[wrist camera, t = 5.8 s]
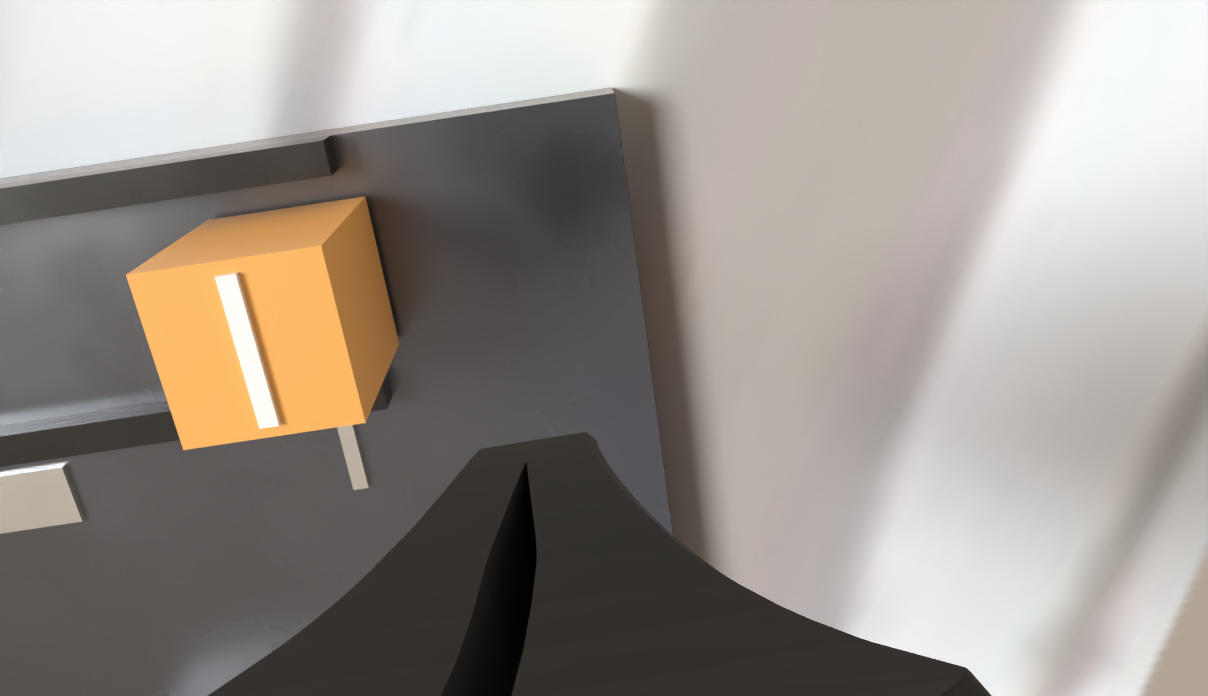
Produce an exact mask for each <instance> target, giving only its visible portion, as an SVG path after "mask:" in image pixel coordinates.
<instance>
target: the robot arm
mask: <svg viewBox="0 0 1208 696" xmlns="http://www.w3.org/2000/svg"><path fill="white" fill-rule="evenodd" d="M207 696H991V695H990V694H989V692H988V691H987V690H986V689H985V688H984V687H983V685H982V684H981V683H980V682H979V681H978V680H977V679H976V677H975V676H974V675H973V674H972V673H971V672H970V671H969V670H968V669H967V668H965V667H961V666H958V665H954V664H950V663H947V662H943V661H939V660H936V659H932V658H928V657H925V656H921V655H917V654H914V653H910V652H906V651H903V650H899V649H895V648H892V647H888V646H884V645H880V644H877V643H873V642H870V641H867V640H864V639H861V638H858V637H855V636H853V635H850V634H847V633H845V632H842V631H839V630H837V629H834V628H832V627H829V626H826V625H824V624H821V623H818V622H816V621H813V620H811V619H808V618H806V617H804V616H802V615H799V614H797V613H795V612H793V611H790V610H788V609H786V608H784V607H781V606H779V605H777V604H775V603H774V602H772V601H770V600H768V599H766V598H764V597H762V596H760V595H758V594H756V593H755V592H753V591H751V590H749V589H747V588H745V587H743V586H741V585H739V584H738V583H736V582H734V581H733V580H731V579H729V578H728V577H726V576H725V575H723V574H722V573H720V572H719V571H717V570H716V569H715V568H713V567H712V566H710V565H709V564H708V563H706V562H705V561H703V560H702V559H701V558H699V557H698V556H697V555H696V554H694V553H693V552H692V551H690V550H689V549H688V548H687V547H686V546H684V545H683V544H682V543H681V542H680V541H678V540H677V539H676V538H675V537H674V536H673V535H672V534H671V533H670V532H669V531H667V530H666V529H665V528H664V527H663V526H662V525H661V524H660V523H659V522H658V521H657V520H656V519H655V518H654V517H653V516H652V515H651V514H650V513H649V512H648V511H647V510H646V509H645V508H644V507H643V506H642V505H641V504H640V503H639V502H638V500H637V499H636V498H635V497H634V496H633V495H632V494H631V493H630V491H629V490H628V489H627V488H626V487H625V486H624V485H623V483H622V482H621V481H620V479H619V478H618V477H617V476H616V474H615V473H614V471H613V470H612V469H611V467H610V466H609V464H608V463H607V461H606V460H605V458H604V457H603V455H602V453H601V451H600V449H599V447H598V445H597V440H596V439H595V438H593V437H592V436H591V435H589V434H588V433H586V432H582V433H576V434H570V435H563V436H557V437H551V438H545V439H538V440H532V441H526V442H520V443H514V444H507V445H501V446H495V447H489V448H482V449H480V450H479V451H478V452H477V453H476V454H475V455H474V456H473V457H472V458H471V459H470V461H469V462H468V463H467V464H466V465H465V467H464V468H463V469H462V470H461V472H460V473H459V474H458V475H457V476H456V478H455V479H454V480H453V481H452V483H451V484H450V485H449V486H448V487H447V489H446V490H445V491H444V492H443V493H442V494H441V496H440V497H439V498H438V499H437V500H436V501H435V503H434V504H433V505H432V506H431V507H430V508H429V509H428V511H427V512H426V513H425V514H424V515H423V516H422V518H421V519H420V520H419V521H418V522H417V523H416V524H415V526H414V527H413V528H412V529H411V530H410V531H409V532H408V533H407V534H406V535H405V536H404V537H403V538H402V539H401V540H400V541H399V542H398V543H397V544H396V545H395V546H394V547H393V548H392V549H391V550H390V551H389V552H388V553H387V554H386V555H385V556H384V557H383V558H382V559H381V560H380V561H379V562H378V563H377V564H376V566H375V567H374V568H373V569H372V570H371V571H370V572H369V573H368V574H367V575H366V576H365V577H364V578H363V579H361V580H360V581H359V582H358V583H357V584H356V585H355V586H354V587H353V588H352V589H351V590H349V591H348V592H347V593H346V594H345V595H344V596H343V597H341V598H340V599H339V600H338V601H337V602H336V603H335V604H333V605H332V606H331V607H330V608H329V609H327V610H326V611H325V612H324V613H322V614H321V615H320V616H319V617H317V618H316V619H315V620H314V621H312V622H311V623H310V624H309V625H308V626H306V627H305V628H304V629H303V630H301V631H300V632H299V633H297V634H296V635H295V636H294V637H292V638H291V639H290V640H288V641H287V642H286V643H284V644H283V645H281V646H280V647H278V648H277V649H275V650H274V651H273V652H271V653H270V654H268V655H267V656H265V657H264V658H262V659H261V660H259V661H258V662H256V663H255V664H253V665H252V666H250V667H249V668H248V669H246V670H245V671H243V672H242V673H240V674H239V675H237V676H236V677H234V678H233V679H231V680H230V681H228V682H227V683H226V684H224V685H223V686H221V687H220V688H218V689H217V690H215V691H214V692H212V693H211V694H209V695H207Z"/></svg>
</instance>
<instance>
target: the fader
mask: <svg viewBox="0 0 1208 696" xmlns="http://www.w3.org/2000/svg"><path fill="white" fill-rule="evenodd" d="M126 277H127V280H128V283H129V286H130V289H131V292H132V295H133V298H134V301H135V304H136V307H137V310H138V313H139V317H140V320H141V323H142V326H143V329H144V332H145V335H146V338H147V341H148V344H149V347H150V350H151V353H152V356H153V359H154V362H155V365H156V368H157V371H158V374H159V377H160V380H161V383H162V386H163V390H164V393H165V396H166V399H167V402H168V405H169V408H170V411H171V414H172V417H173V420H174V423H175V426H176V429H177V432H178V435H179V438H180V441H181V444H182V447H183V450H188V449H195V448H201V447H208V446H215V445H222V444H228V443H235V442H242V441H248V440H255V439H262V438H268V437H275V436H282V435H288V434H295V433H302V432H308V431H315V430H322V429H329V428H335V427H342V426H349V425H355V424H362V423H366V421H367V418H368V416H369V414H370V411H371V409H372V407H373V404H374V402H375V400H376V397H377V395H378V393H379V390H380V388H381V386H382V383H383V381H384V379H385V376H386V374H387V372H388V369H389V367H390V365H391V362H392V360H393V357H394V355H395V353H396V350H397V348H398V346H399V340H398V336H397V332H396V327H395V323H394V319H393V314H392V310H391V306H390V301H389V297H388V293H387V288H386V284H385V280H384V275H383V271H382V266H381V262H380V258H379V253H378V249H377V245H376V240H375V236H374V232H373V227H372V223H371V219H370V214H369V210H368V205H367V201H366V197H358V198H351V199H345V200H338V201H331V202H324V203H318V204H311V205H304V206H298V207H291V208H284V209H278V210H271V211H264V212H257V213H251V214H244V215H237V216H231V217H224V218H217V219H211V220H207V221H206V222H204V223H203V224H201V225H200V226H198V227H197V228H195V229H194V230H192V231H191V232H189V233H188V234H186V235H185V236H183V237H182V238H180V239H179V240H177V241H176V242H174V243H173V244H171V245H170V246H168V247H167V248H165V249H164V250H162V251H161V252H159V253H158V254H156V255H155V256H153V257H152V258H150V259H149V260H147V261H146V262H144V263H143V264H141V265H140V266H138V267H137V268H135V269H134V270H132V271H131V272H129V273H128V274H126Z"/></svg>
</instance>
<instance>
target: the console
mask: <svg viewBox="0 0 1208 696" xmlns="http://www.w3.org/2000/svg"><path fill="white" fill-rule="evenodd" d="M358 197H366V201H367V205H368V210H369V214H370V219H371V223H372V227H373V232H374V236H375V240H376V245H377V249H378V253H379V258H380V262H381V266H382V271H383V275H384V280H385V284H386V288H387V293H388V297H389V301H390V306H391V310H392V314H393V319H394V323H395V327H396V332H397V336H398V340H399V346H398V348H397V350H396V353H395V355H394V357H393V360H392V362H391V365H390V367H389V369H388V372H387V374H386V376H385V379H384V381H383V383H382V386H381V388H380V390H379V393H378V395H377V397H376V400H375V402H374V404H373V407H372V409H371V411H370V414H369V416H368V418H367V421H366V423H362V424H355V425H349V426H342V427H335V428H329V429H322V430H315V431H308V432H302V433H295V434H288V435H282V436H275V437H268V438H262V439H255V440H248V441H242V442H235V443H228V444H222V445H215V446H208V447H201V448H195V449H188V450H183V447H182V444H181V441H180V438H179V435H178V432H177V429H176V426H175V423H174V420H173V417H172V414H171V411H170V408H169V405H168V402H167V399H166V396H165V393H164V390H163V386H162V383H161V380H160V377H159V374H158V371H157V368H156V365H155V362H154V359H153V356H152V353H151V350H150V347H149V344H148V341H147V338H146V335H145V332H144V329H143V326H142V323H141V320H140V317H139V313H138V310H137V307H136V304H135V301H134V298H133V295H132V292H131V289H130V286H129V283H128V280H127V277H126V274H128V273H129V272H131V271H132V270H134V269H135V268H137V267H138V266H140V265H141V264H143V263H144V262H146V261H147V260H149V259H150V258H152V257H153V256H155V255H156V254H158V253H159V252H161V251H162V250H164V249H165V248H167V247H168V246H170V245H171V244H173V243H174V242H176V241H177V240H179V239H180V238H182V237H183V236H185V235H186V234H188V233H189V232H191V231H192V230H194V229H195V228H197V227H198V226H200V225H201V224H203V223H204V222H206V221H207V220H211V219H217V218H224V217H231V216H237V215H244V214H251V213H257V212H264V211H271V210H278V209H284V208H291V207H298V206H304V205H311V204H318V203H324V202H331V201H338V200H345V199H351V198H358ZM582 432H586V433H588V434H589V435H591V436H592V437H593V438H595V439H596V440H597V445H598V447H599V449H600V451H601V453H602V455H603V457H604V458H605V460H606V461H607V463H608V464H609V466H610V467H611V469H612V470H613V471H614V473H615V474H616V476H617V477H618V478H619V479H620V481H621V482H622V483H623V485H624V486H625V487H626V488H627V489H628V490H629V491H630V493H631V494H632V495H633V496H634V497H635V498H636V499H637V500H638V502H639V503H640V504H641V505H642V506H643V507H644V508H645V509H646V510H647V511H648V512H649V513H650V514H651V515H652V516H653V517H654V518H655V519H656V520H657V521H658V522H659V523H660V524H661V525H662V526H663V527H664V528H665V529H666V530H667V531H669V532H670V533H671V534H672V535H673V532H672V525H671V517H670V509H669V502H668V494H667V487H666V479H665V471H664V464H663V456H662V449H661V441H660V433H659V426H658V418H657V411H656V403H655V395H654V388H653V380H652V373H651V365H650V357H649V350H648V342H647V334H646V327H645V319H644V312H643V304H642V296H641V289H640V281H639V274H638V266H637V258H636V251H635V243H634V236H633V228H632V220H631V213H630V205H629V198H628V190H627V182H626V175H625V167H624V160H623V152H622V144H621V137H620V129H619V121H618V114H617V106H616V99H615V93H614V91H613V90H612V88H606V89H599V90H592V91H585V92H579V93H572V94H565V95H559V96H552V97H545V98H538V99H532V100H525V101H518V102H512V103H505V104H498V105H492V106H485V107H478V108H471V109H465V110H458V111H451V112H445V113H438V114H431V115H424V116H418V117H411V118H404V119H398V120H391V121H384V122H378V123H371V124H364V125H357V126H351V127H344V128H337V129H331V130H324V131H317V132H310V133H304V134H297V135H290V136H284V137H277V138H270V139H264V140H257V141H250V142H243V143H237V144H230V145H223V146H217V147H210V148H203V149H196V150H190V151H183V152H176V153H170V154H163V155H156V156H150V157H143V158H136V159H129V160H123V161H116V162H109V163H103V164H96V165H89V166H82V167H76V168H69V169H62V170H56V171H49V172H42V173H36V174H29V175H22V176H15V177H9V178H2V179H0V696H207V695H209V694H211V693H212V692H214V691H215V690H217V689H218V688H220V687H221V686H223V685H224V684H226V683H227V682H228V681H230V680H231V679H233V678H234V677H236V676H237V675H239V674H240V673H242V672H243V671H245V670H246V669H248V668H249V667H250V666H252V665H253V664H255V663H256V662H258V661H259V660H261V659H262V658H264V657H265V656H267V655H268V654H270V653H271V652H273V651H274V650H275V649H277V648H278V647H280V646H281V645H283V644H284V643H286V642H287V641H288V640H290V639H291V638H292V637H294V636H295V635H296V634H297V633H299V632H300V631H301V630H303V629H304V628H305V627H306V626H308V625H309V624H310V623H311V622H312V621H314V620H315V619H316V618H317V617H319V616H320V615H321V614H322V613H324V612H325V611H326V610H327V609H329V608H330V607H331V606H332V605H333V604H335V603H336V602H337V601H338V600H339V599H340V598H341V597H343V596H344V595H345V594H346V593H347V592H348V591H349V590H351V589H352V588H353V587H354V586H355V585H356V584H357V583H358V582H359V581H360V580H361V579H363V578H364V577H365V576H366V575H367V574H368V573H369V572H370V571H371V570H372V569H373V568H374V567H375V566H376V564H377V563H378V562H379V561H380V560H381V559H382V558H383V557H384V556H385V555H386V554H387V553H388V552H389V551H390V550H391V549H392V548H393V547H394V546H395V545H396V544H397V543H398V542H399V541H400V540H401V539H402V538H403V537H404V536H405V535H406V534H407V533H408V532H409V531H410V530H411V529H412V528H413V527H414V526H415V524H416V523H417V522H418V521H419V520H420V519H421V518H422V516H423V515H424V514H425V513H426V512H427V511H428V509H429V508H430V507H431V506H432V505H433V504H434V503H435V501H436V500H437V499H438V498H439V497H440V496H441V494H442V493H443V492H444V491H445V490H446V489H447V487H448V486H449V485H450V484H451V483H452V481H453V480H454V479H455V478H456V476H457V475H458V474H459V473H460V472H461V470H462V469H463V468H464V467H465V465H466V464H467V463H468V462H469V461H470V459H471V458H472V457H473V456H474V455H475V454H476V453H477V452H478V451H479V450H480V449H482V448H489V447H495V446H501V445H507V444H514V443H520V442H526V441H532V440H538V439H545V438H551V437H557V436H563V435H570V434H576V433H582Z"/></svg>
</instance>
